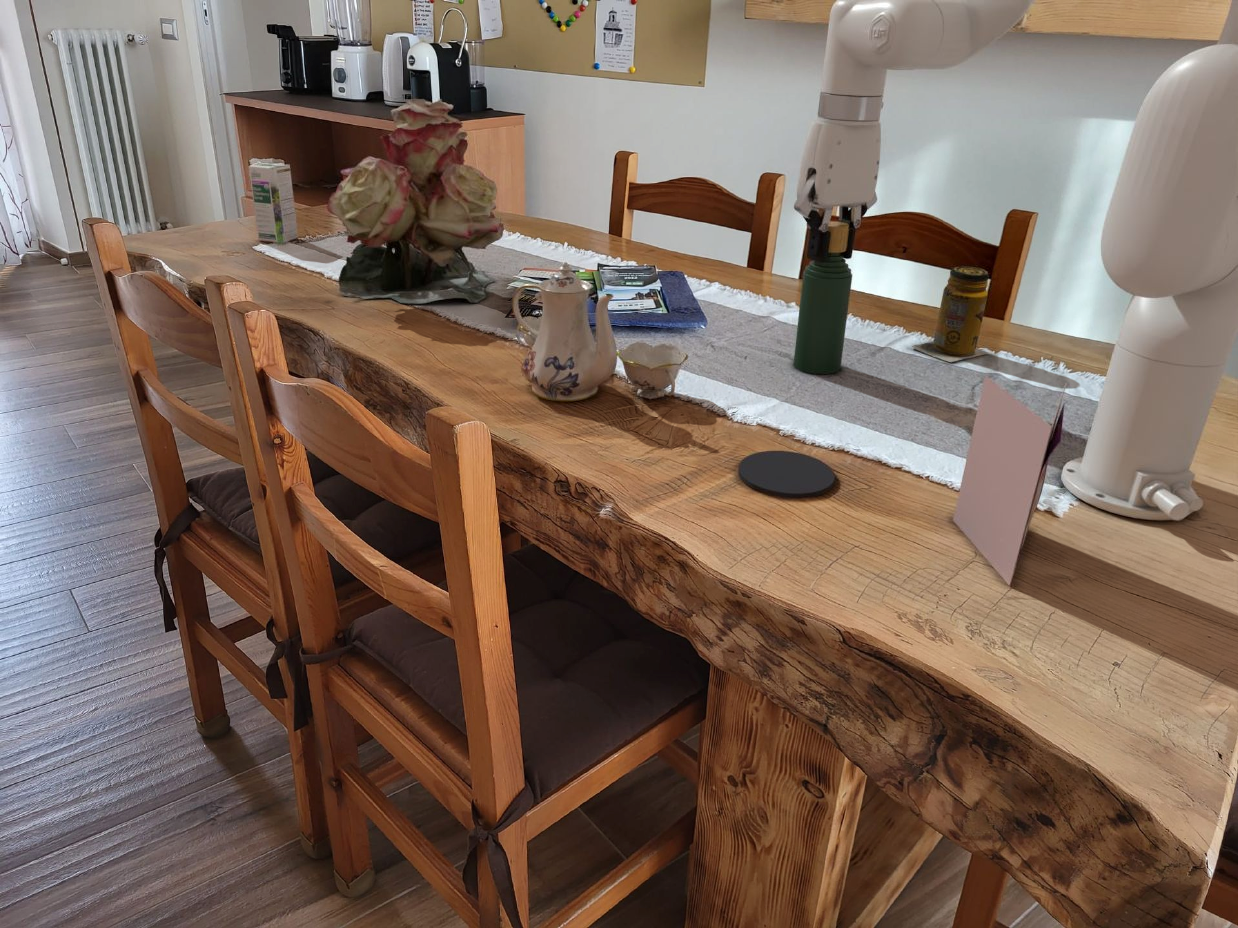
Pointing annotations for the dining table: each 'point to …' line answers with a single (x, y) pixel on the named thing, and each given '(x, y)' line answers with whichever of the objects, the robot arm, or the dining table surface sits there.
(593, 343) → the chinaware
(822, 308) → the bottle
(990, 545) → the greeting card
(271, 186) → the syrup box
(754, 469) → the coaster
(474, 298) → the rose bouquet
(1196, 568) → the dining table surface
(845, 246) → the cap
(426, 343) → the dining table surface
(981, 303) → the condiment
